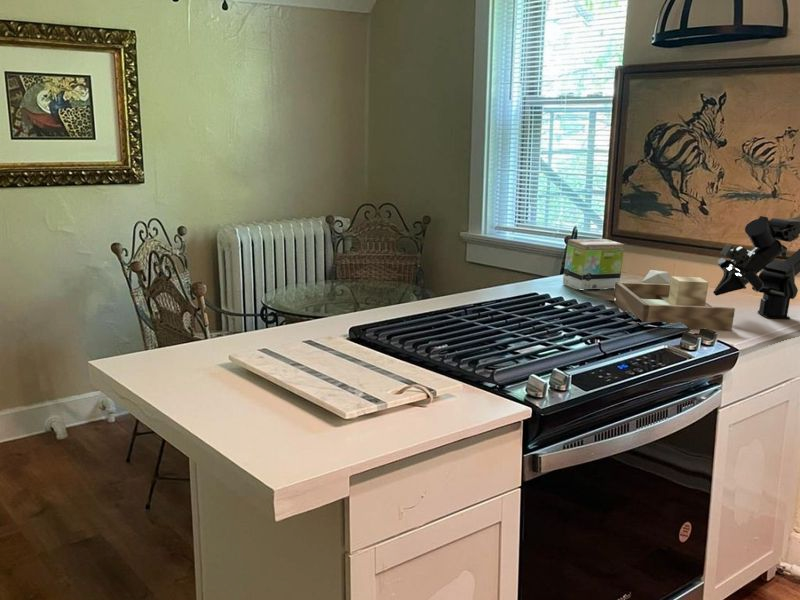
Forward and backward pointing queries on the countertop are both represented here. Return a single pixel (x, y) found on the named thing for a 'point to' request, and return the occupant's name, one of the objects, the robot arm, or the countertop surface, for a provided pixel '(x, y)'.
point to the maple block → (687, 291)
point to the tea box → (593, 263)
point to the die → (657, 277)
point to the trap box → (669, 307)
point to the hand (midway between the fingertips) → (714, 294)
